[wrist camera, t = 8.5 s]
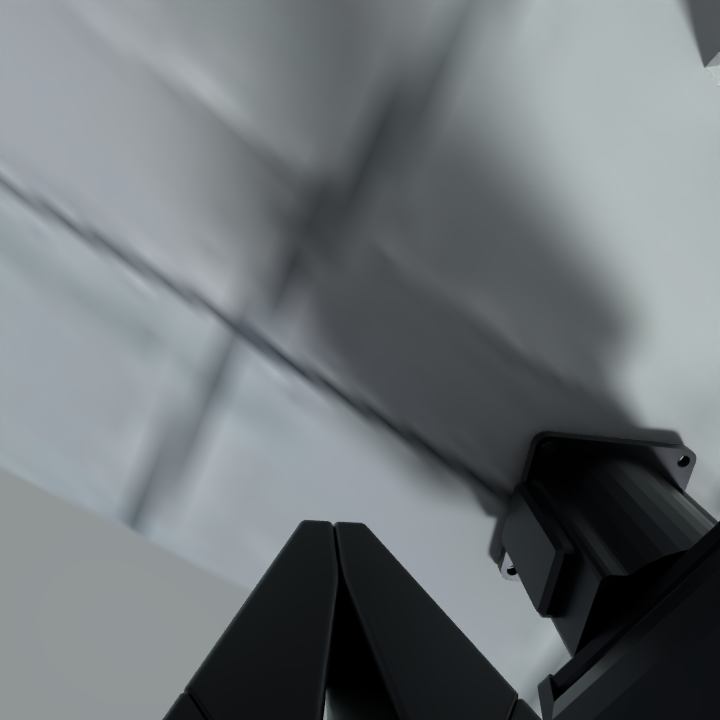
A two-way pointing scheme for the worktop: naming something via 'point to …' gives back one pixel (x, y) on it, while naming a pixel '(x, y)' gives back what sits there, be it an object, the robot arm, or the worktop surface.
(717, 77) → the paper towel holder
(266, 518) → the worktop surface
